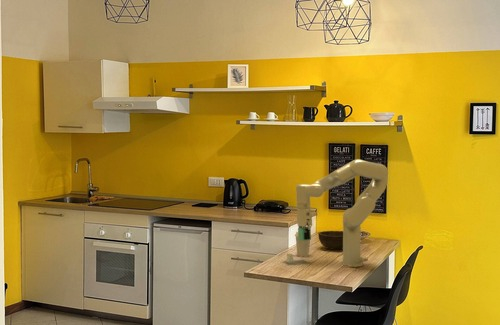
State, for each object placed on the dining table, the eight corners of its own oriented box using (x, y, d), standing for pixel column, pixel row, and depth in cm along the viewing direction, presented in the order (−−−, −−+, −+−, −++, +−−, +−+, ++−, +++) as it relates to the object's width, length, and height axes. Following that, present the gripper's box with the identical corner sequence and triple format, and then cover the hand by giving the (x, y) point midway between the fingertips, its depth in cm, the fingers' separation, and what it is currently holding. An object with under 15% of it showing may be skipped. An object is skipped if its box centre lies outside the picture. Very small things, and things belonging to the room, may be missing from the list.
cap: (306, 238, 330) (306, 226, 329) (311, 239, 325) (310, 228, 325) (298, 239, 328) (298, 227, 327) (302, 240, 323) (302, 228, 323)
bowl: (352, 246, 380) (352, 231, 379) (352, 253, 358) (352, 237, 358) (319, 245, 384) (319, 230, 383) (317, 251, 362) (317, 235, 362)
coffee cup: (291, 257, 345) (291, 232, 344) (301, 255, 352) (301, 230, 351) (304, 260, 338) (304, 234, 337) (314, 257, 345) (314, 232, 344)
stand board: (303, 261, 333) (303, 259, 333) (311, 265, 323) (311, 263, 323) (281, 263, 328) (281, 261, 328) (288, 267, 318) (288, 265, 318)
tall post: (291, 262, 326) (291, 253, 325) (293, 263, 323) (293, 254, 323) (286, 262, 325) (286, 253, 324) (288, 263, 322) (288, 254, 322)
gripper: (316, 207, 319) (317, 240, 320) (302, 204, 335) (303, 235, 336) (304, 208, 316) (305, 241, 317) (290, 205, 332) (292, 237, 333)
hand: (304, 238), depth 326 cm, fingers closed on cap, 5 cm apart
